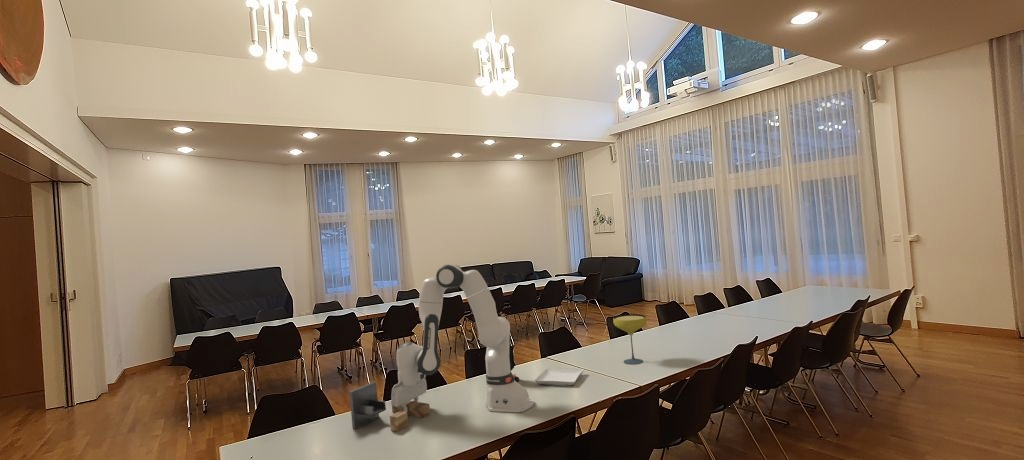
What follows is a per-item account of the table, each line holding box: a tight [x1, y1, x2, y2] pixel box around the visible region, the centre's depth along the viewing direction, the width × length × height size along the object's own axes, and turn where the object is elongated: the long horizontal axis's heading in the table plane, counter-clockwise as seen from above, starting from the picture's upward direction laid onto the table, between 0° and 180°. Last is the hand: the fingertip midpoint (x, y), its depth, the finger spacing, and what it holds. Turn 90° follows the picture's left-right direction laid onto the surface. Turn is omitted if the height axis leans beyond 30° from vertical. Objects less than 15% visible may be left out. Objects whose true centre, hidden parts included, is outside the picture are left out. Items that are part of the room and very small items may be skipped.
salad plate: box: [534, 368, 585, 386], centre depth 248 cm, size 21×21×3 cm
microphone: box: [509, 338, 520, 383], centre depth 254 cm, size 14×14×25 cm
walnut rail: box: [391, 400, 431, 419], centre depth 219 cm, size 20×4×5 cm, turn 57°
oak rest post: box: [389, 411, 409, 433], centre depth 202 cm, size 4×6×6 cm, turn 150°
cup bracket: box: [349, 381, 387, 430], centre depth 210 cm, size 10×14×16 cm
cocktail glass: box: [612, 313, 647, 365], centre depth 269 cm, size 18×18×25 cm
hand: (410, 409), depth 219 cm, fingers closed on walnut rail, 4 cm apart
